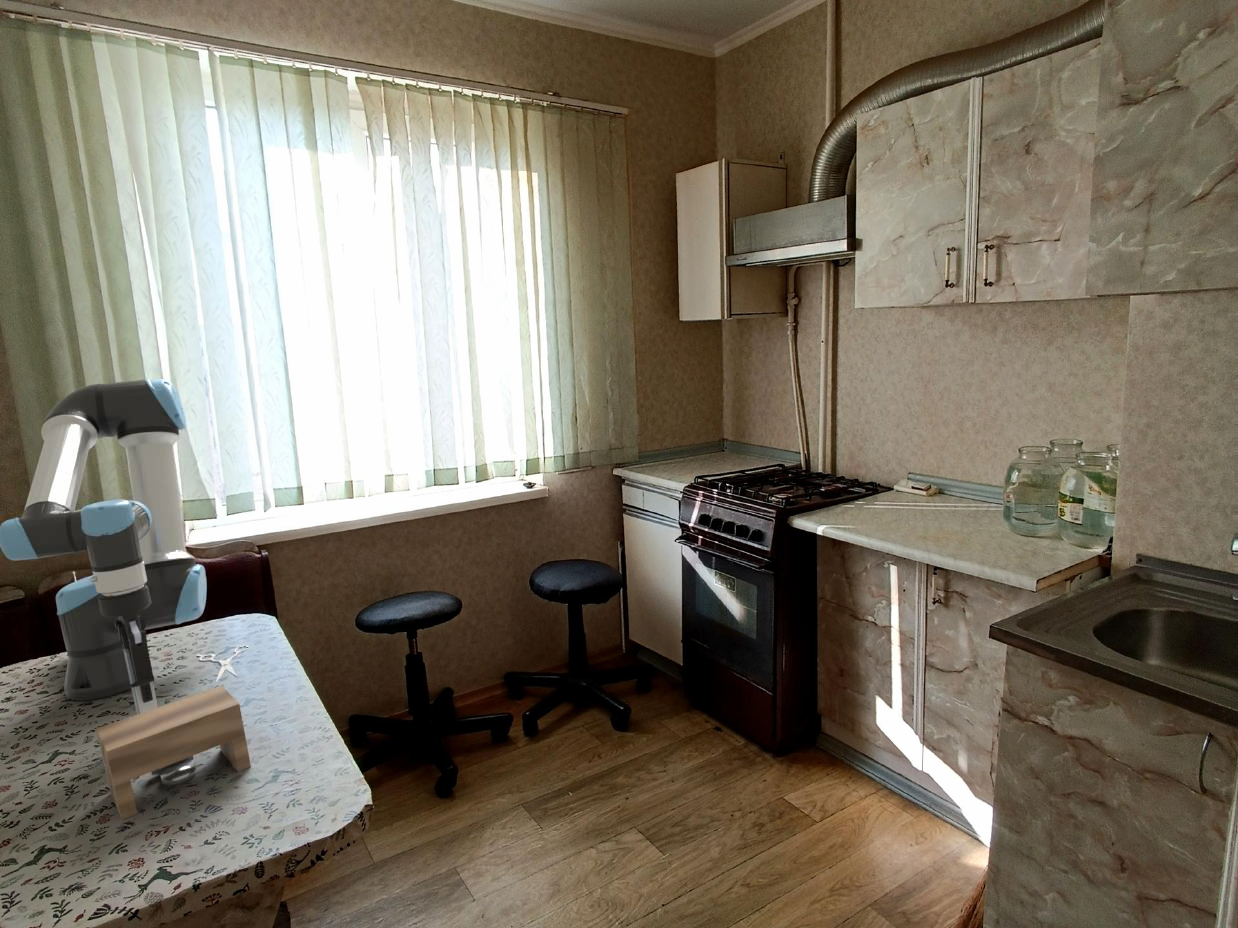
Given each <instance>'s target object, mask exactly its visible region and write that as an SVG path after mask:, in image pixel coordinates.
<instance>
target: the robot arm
mask: <svg viewBox="0 0 1238 928" xmlns="http://www.w3.org/2000/svg"><path fill="white" fill-rule="evenodd" d="M185 416H186V415H185V412H184V408H183V405H182V402H181V399H180V397H179V394H178V392H177V390H176V387H175V386H174V384H173V383H172V382H171V381H170V380H168V379H165V378H155V379H149V378H145V379H140V380H131V381H120V382H119V381H118V382H108V383H106V382H105V383H96V384H94V383H93V384H88V385H85V386H81V387H80V388H78V389H76V390H74V391H72V392H70V393H68V394H67V395H66V396H64V397H62V399H61V400H59V401H58V402H57V403H56V404H55V405H54V406H53V407H52V408H51V410H50V411H49V412H48V413H47V415H46V417H45V418H44V421H43V422H42V426H41V431H40V433H41V438H42V440H43V444H42V448H41V452H40V454H39V457H38V458H39V459H38V461H37V466H36V469H35V471H34V472H35V473H34V476H33V478H32V481H31V482H32V483H31V486H30V489H29V493H28V496H27V499H26V504H25V507H24V511H23V512H22V515H21V517H18V516H17V517H15V518H11V519H7V520H5V521H4V522H2V523H1V524H0V549H1V552H2V554H3V555H4V556H5V557H6V558H7V559H8V560H10V561H15V562H16V561H25V560H26V561H27V560H38V559H42V558H48V557H49V558H50V557H55V556H59V555H66V554H73V553H78V552H85V551H87V552H88V558H89V561H90V567H91V571H92V575H89V576H85V577H83V578H81V579H78V580H76V581H75V580H74V582H71V583H69V584H67V585H65V586H64V587H62V588H61V589H60V590H59V591H58V592H57V593H56V595H55V603H56V608H57V609H56V610H57V611H56V615H57V616H58V619H59V623H60V628H61V632H62V636H63V641H64V645H65V649H66V650H65V651H66V652H67V666H66V671H65V679H64V682H63V688H64V689H63V690H64V694H65V697H67V698H69V699H72V700H71V701H73V700H77V701H76V702H83V701H84V700H85V701H93V700H98V699H102V698H107V697H110V696H115V695H117V694H119V693H123V692H125V691H129V690H130V689H131V688H134V687H135V691H136V696H137V701H138V706H139V710H140V713H143V712H146V711H149V710H152V709H155V708H158V707H159V705H157V704H158V701H157V694H156V690H155V686H154V681H155V675H154V673H153V667H152V663H151V657H150V652H149V646H148V639H147V631H146V630H151V629H155V628H156V629H157V628H163V627H165V626H172V625H180V624H182V623H186V622H191V621H195V620H197V619H199V618H200V617H201V616H202V615H203V613H204V610H205V607H206V603H207V601H206V600H207V588H208V587H207V586H208V585H207V576H206V569H205V567H204V565H203V564H199V563H197V564H196V557H195V556H193V555H192V554H190V553H189V552H188V551H187V548H186V540H185V533H184V524H183V518H182V517H183V516H182V509H181V503H180V502H181V501H180V494H179V493H180V492H179V485H178V478H177V470H176V462H175V454H174V447H173V446H174V445H175V443H176V442H178V441H179V439H180V432H179V430H180V431H182V430H184V429H186V427H187V421H186V417H185ZM113 437H117V443H118V444H119V445H120V446H122V447H123V448H125V449H126V453H127V460H128V468H129V476H130V483H131V484H130V485H131V486H130V487H131V492H132V499H131V500H126V499H123V498H122V499H121V498H120V499H110V500H105V501H103V500H102V501H99V502H95V503H91V504H87V505H85V506H83V507H82V508H81V509H76V505H77V502H78V498H79V493H80V489H81V484H82V481H83V476H84V473H85V468H86V464H87V460H88V454H89V450H90V449H92V448H93V447H94V446H95V445H96V443H97V442H98V440H99V439H103V438H113ZM123 649H128V653H129V657H130V662H131V666H132V670H133V675H134V679H135V683H133V684H130V679H129V674H128V670H127V665H126V660H125V655H124V650H123ZM67 698H66V699H67ZM69 699H68V700H69ZM79 700H80V701H79ZM85 701H84V702H85Z"/></svg>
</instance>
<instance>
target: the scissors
mask: <svg viewBox="0 0 1238 928" xmlns="http://www.w3.org/2000/svg"><path fill="white" fill-rule="evenodd" d="M244 646H246V647H244ZM239 647H243V648H244V649H242V650H243V651H244V650H246V649H248V648H247V647H249V645H241V646H239ZM249 648H250V647H249ZM237 649H238V647H236V648H235V649H234V650H235V651H234V650H233V651H232V653H234V652H236V653H235V654H234V655H232V656H231V657H229V658H227V659H225V660H222V659H220V660H219V659H215V658H217V655H216V654H213V653H212V654H211V653H210V654H205V655H204V654H203V655H201V654H200V653H199V654H196V655H195V656H196V657H197V656H199V657H198V659H199V662H202V661H205V662H212V663H219V664H220V665H221V667H220V670H219V672H218V675H217V676H216V677H217V678H216V681H215V683H217V682H218V681H219V679H221V677H222V675H223V674H224V672H225V671H226V670H227V671H228V672H230V673H231V674H233V675H234V676H235V677H238V675H237V674H236V671H235V670H234V668H233V667H232V666H231V664H229V663H231V662H232V660H233V659H234V658H235V656H236V657H237V656H238V655H239V654H240V653H239V652H242V650H239V649H238V650H237ZM236 650H237V651H236ZM246 651H247V650H246ZM244 652H245V651H244ZM238 653H239V654H238ZM242 653H243V652H242ZM237 654H238V655H237ZM205 656H208V657H210V658H206V657H205ZM233 657H234V658H233ZM202 658H203V659H202ZM213 658H214V659H213ZM232 658H233V659H232ZM231 659H232V660H231ZM230 661H231V662H230ZM224 670H225V671H224Z"/></svg>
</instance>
